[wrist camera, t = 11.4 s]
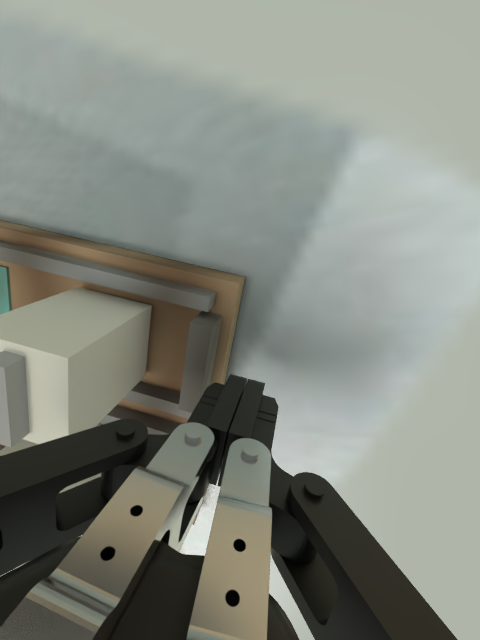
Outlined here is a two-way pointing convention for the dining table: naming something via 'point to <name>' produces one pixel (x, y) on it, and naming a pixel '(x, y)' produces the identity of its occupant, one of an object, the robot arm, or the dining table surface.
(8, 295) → the switch board
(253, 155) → the dining table surface
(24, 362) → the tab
